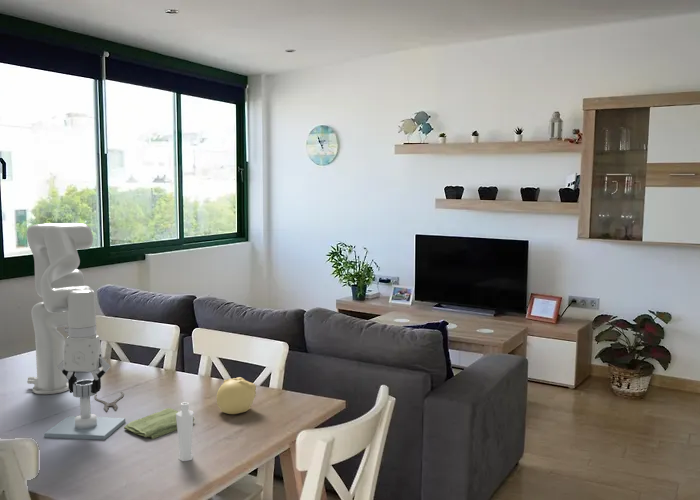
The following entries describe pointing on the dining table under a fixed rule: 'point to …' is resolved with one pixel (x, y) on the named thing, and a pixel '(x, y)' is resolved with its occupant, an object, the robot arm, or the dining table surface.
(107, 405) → the pliers
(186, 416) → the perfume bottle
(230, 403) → the pale yellow round lump
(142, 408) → the dining table surface
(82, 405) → the piston block
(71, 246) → the robot arm
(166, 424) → the washcloth
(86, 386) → the ring
